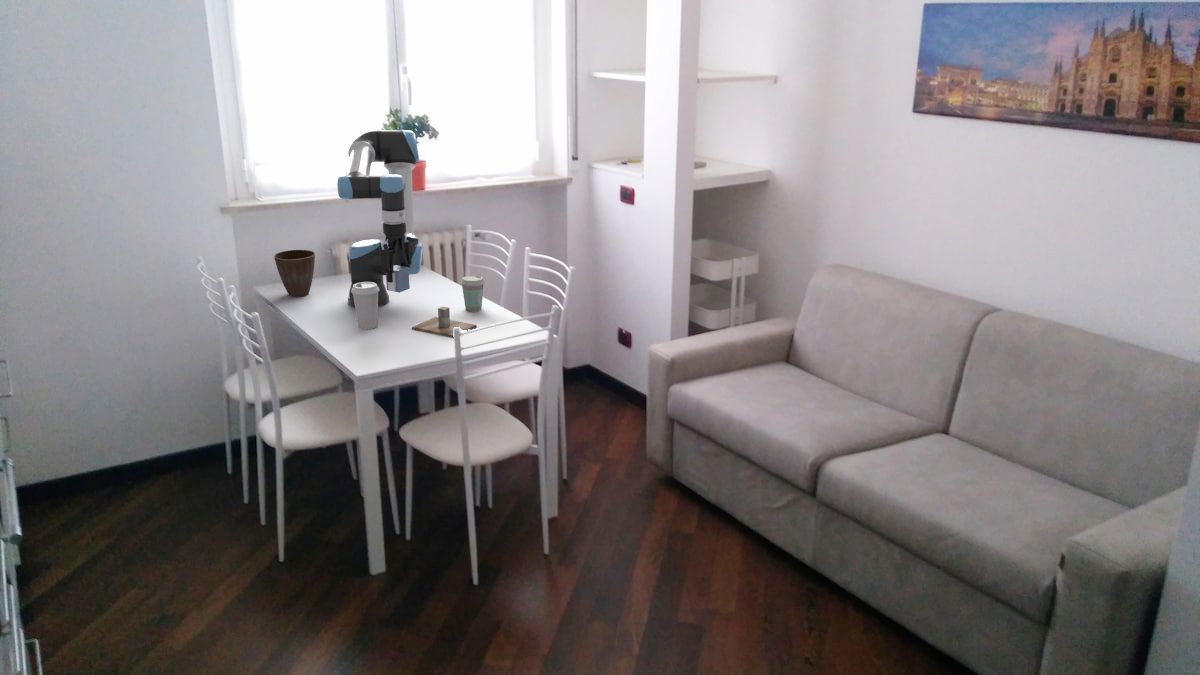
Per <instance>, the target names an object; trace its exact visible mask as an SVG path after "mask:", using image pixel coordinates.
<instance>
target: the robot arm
mask: <svg viewBox="0 0 1200 675" xmlns="http://www.w3.org/2000/svg"><path fill="white" fill-rule="evenodd" d="M347 152H348V153H347V154H348V157H349V161H348V165H347V166H348V167H347V170H346V175H344V176H339V177H338V178H337V181H336V182H337V194H338V197H339V198H340V199H343V200H362V199H363V200H365V199H367V200H368V199H370V200H373V199H374V200H375V199H376V200H377V199H378V200H379V199H380V200H381V218H382V219H381V220H382V233H383V234H384V235H385V239H384V242H381V240H380V239H365V240H361V241H357V242H355V243H353V244H351V246H350V247H349V250H348V251H349V253H348V254H349V255H348V256H349V257H348V259H349V265H350V266H349V267H350V268H349V270H350V281H351V285H350V288H349V293H348V296H347V303H348V305H349V306H351V307H355V303H354V298H353V293H351V290H352V288H353V285H354V284H356V283H360V282H373V283H376V284H377V286H378V287H379V290H380V291H379V292H378V307H382V306H384V305H387V304H388V303H389V302H390V295H389V293H388V292H387V291H388V290H389V292H394V293H397V292H396V280H395V273H394V272H393V269H394V266H395V265H399V266H404V267H408V268H409V276H410V275H418V274H419V273H420V272H421V268H422V262H423V261H422V260H423V246H424V245H423V243H421V242H420V241H419V237H417V235H416V234H415V220H414V218H415V217H414V198H413V196H414V195H413V194H414V193H413V171H414V169H415V168H416V167H417V166H416V165H417V164H416V163H418V162H420V156H419V151H418V145H417V138H416V134H415V132H414V131H413V130H408V129H407V130H406V129H381V130H380V129H378V130H377V129H373V130H368V131H364V132H363V133H361V134H360V135H358V136H356V137H355V138H354V139H353V140H352V141H351V143H350V145H349V148H348V151H347ZM376 162H377V163H378V162H379V163H383V168H385V169H386V170H387V171H388V172H387V174H384V175H376V176H375V175H370V172H371V167H372V164H373V163H376ZM386 273H387V282H388V290H387V287H386V285H385V282H384V276H386Z"/></svg>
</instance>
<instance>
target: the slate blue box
mask: <svg viewBox="0 0 1200 675" xmlns="http://www.w3.org/2000/svg"><path fill="white" fill-rule="evenodd" d="M393 272H394V273H395V280H396V292H395V293H402V292H405V291H408V290H410V286H411V285H410V275H409V268H408V267H404V266H399V265H395V266H394V269H393ZM385 280H386V282H385V283H386V291H389V290H388V282H387V273H386V275H385ZM389 292H390V291H389Z"/></svg>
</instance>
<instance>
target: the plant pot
mask: <svg viewBox="0 0 1200 675" xmlns="http://www.w3.org/2000/svg"><path fill="white" fill-rule="evenodd" d="M273 258H274V262H275V264H276V269H277V272H278V274H279V277H280V280H281V282H282V284H283V285H282V286H284V289H285V291H286V292H287V295H288V296H289V297H291V298H300V297H306V296H308V295H309V293H310V291H311V288H312V287H311V286H312V283H313V278H314V272H315V262H316V252H314V251H313V250H308V249H292V250H284V251H280V252H277V253H275V254H274V256H273Z"/></svg>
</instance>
